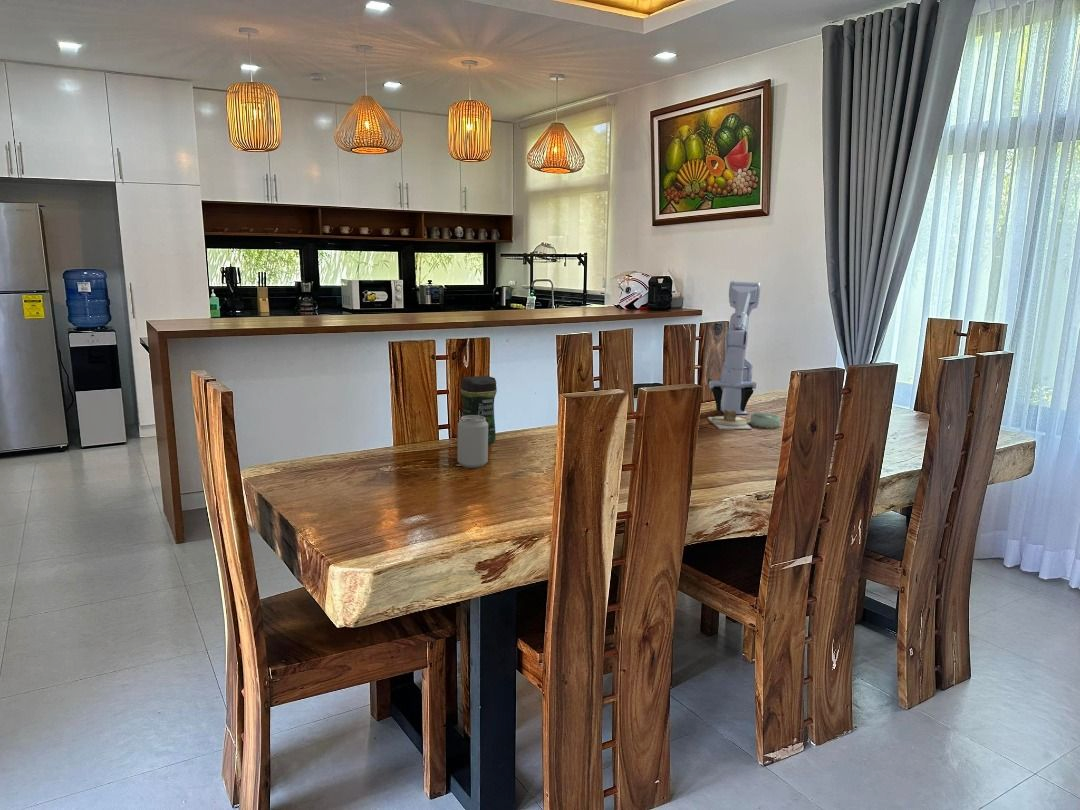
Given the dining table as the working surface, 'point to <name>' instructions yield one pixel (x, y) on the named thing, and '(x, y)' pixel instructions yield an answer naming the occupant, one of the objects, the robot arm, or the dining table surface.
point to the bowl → (765, 419)
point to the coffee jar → (480, 400)
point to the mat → (730, 426)
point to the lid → (729, 419)
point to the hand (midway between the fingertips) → (730, 410)
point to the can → (472, 441)
